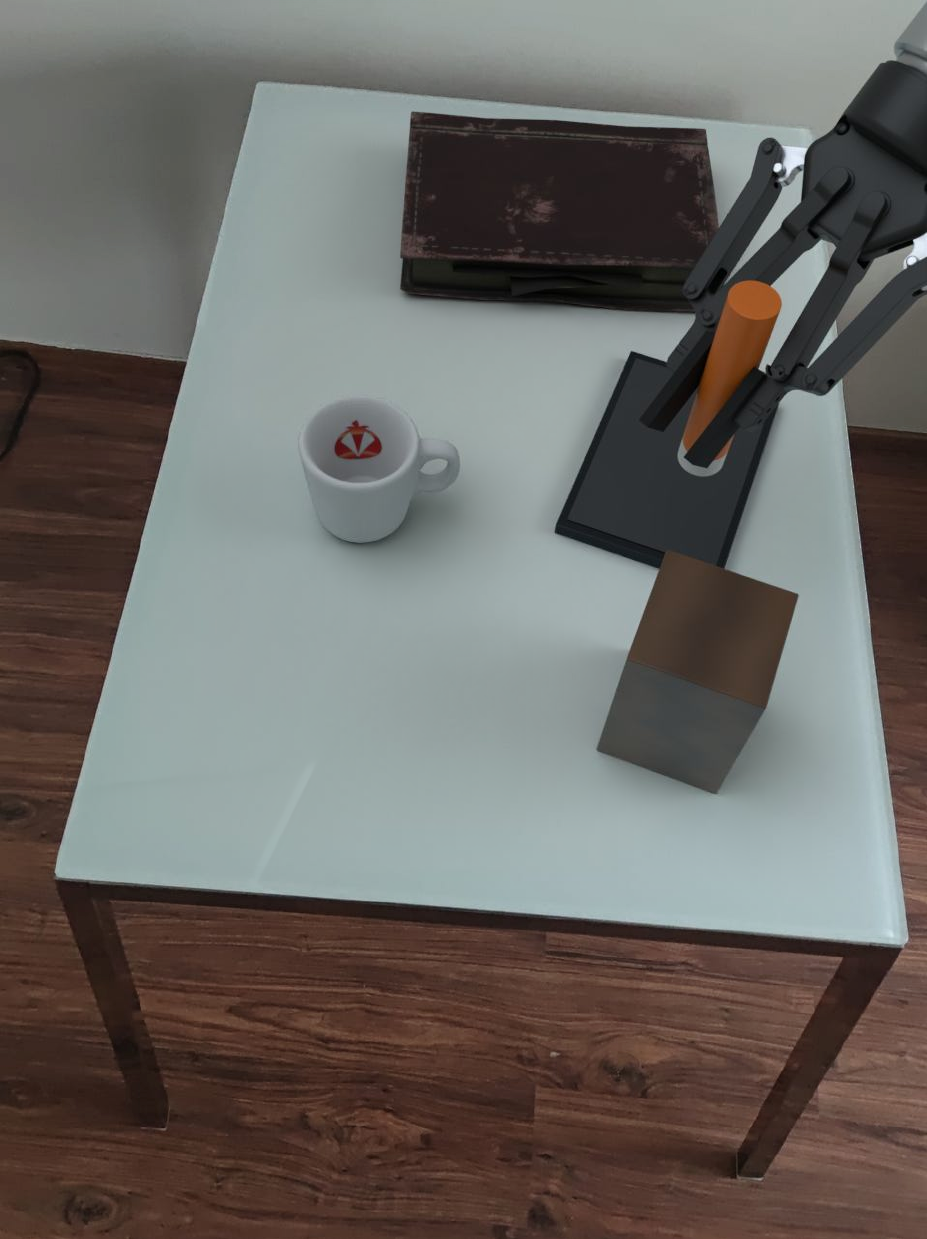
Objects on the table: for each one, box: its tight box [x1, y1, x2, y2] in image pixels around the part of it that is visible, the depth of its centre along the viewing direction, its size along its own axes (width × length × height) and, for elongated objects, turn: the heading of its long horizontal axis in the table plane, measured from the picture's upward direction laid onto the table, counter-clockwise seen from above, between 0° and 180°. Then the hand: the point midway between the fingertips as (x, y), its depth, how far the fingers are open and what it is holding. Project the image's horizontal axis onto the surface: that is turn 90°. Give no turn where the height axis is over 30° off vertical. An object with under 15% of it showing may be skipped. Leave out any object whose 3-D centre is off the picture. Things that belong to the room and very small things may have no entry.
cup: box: [297, 394, 461, 544], centre depth 83 cm, size 11×8×8 cm
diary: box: [399, 111, 720, 312], centre depth 100 cm, size 19×25×5 cm
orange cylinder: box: [678, 281, 783, 477], centre depth 73 cm, size 3×3×14 cm
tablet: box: [554, 350, 780, 570], centre depth 89 cm, size 12×18×1 cm, turn 159°
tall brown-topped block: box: [596, 550, 800, 795], centre depth 74 cm, size 8×8×12 cm
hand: (673, 443), depth 74 cm, fingers closed on orange cylinder, 3 cm apart
